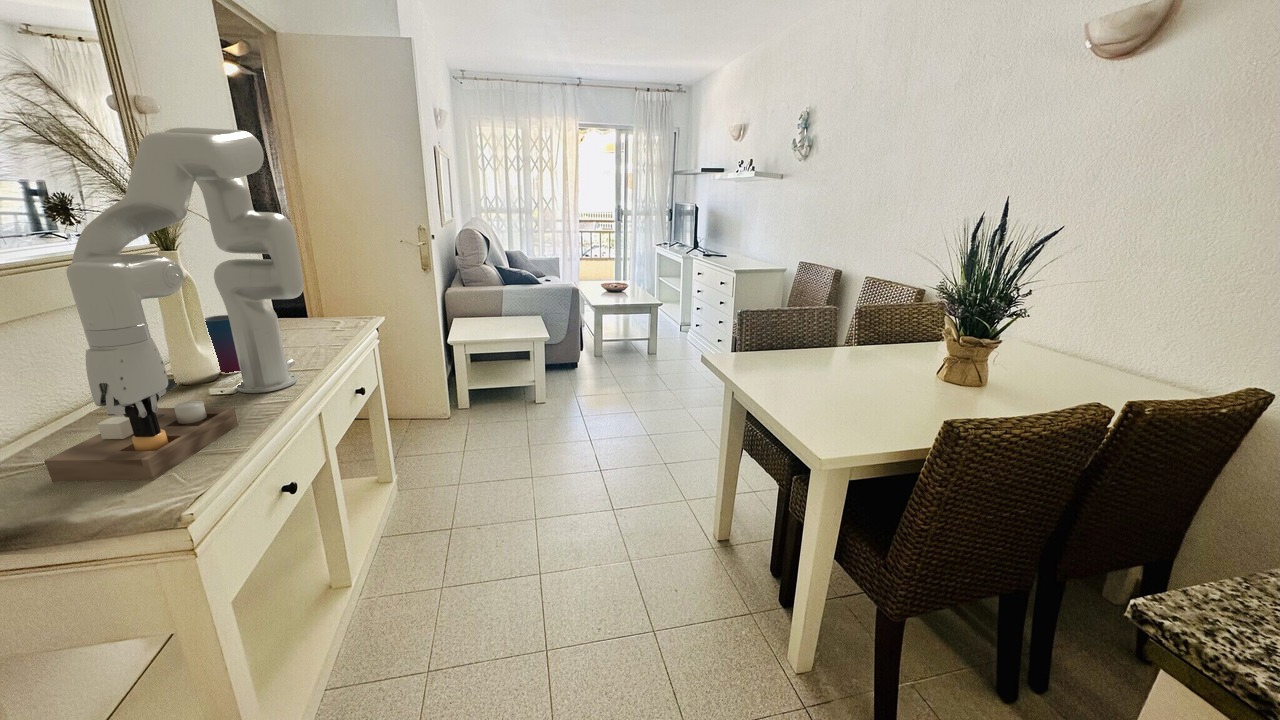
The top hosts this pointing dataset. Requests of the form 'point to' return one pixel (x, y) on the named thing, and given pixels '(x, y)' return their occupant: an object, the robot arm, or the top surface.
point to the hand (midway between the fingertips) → (148, 434)
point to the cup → (223, 342)
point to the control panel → (127, 464)
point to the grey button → (190, 412)
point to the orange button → (150, 442)
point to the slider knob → (115, 428)
